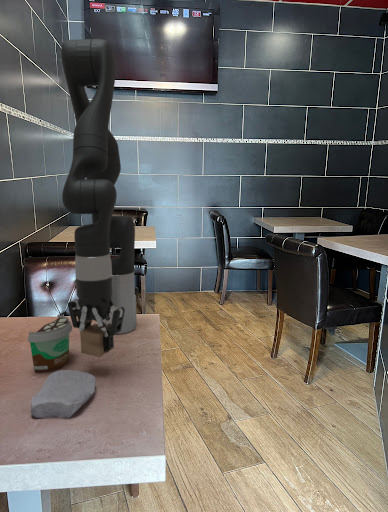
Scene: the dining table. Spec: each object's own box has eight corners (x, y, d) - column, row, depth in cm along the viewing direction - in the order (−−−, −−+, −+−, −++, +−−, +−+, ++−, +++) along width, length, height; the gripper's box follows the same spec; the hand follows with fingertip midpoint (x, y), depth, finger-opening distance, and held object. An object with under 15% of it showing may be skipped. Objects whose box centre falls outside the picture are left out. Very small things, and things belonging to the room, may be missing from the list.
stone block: (98, 393, 78) (51, 383, 77) (101, 373, 77) (54, 363, 76) (80, 431, 66) (25, 420, 66) (83, 408, 65) (28, 397, 65)
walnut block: (95, 343, 85) (94, 323, 84) (113, 347, 83) (113, 327, 82) (81, 352, 80) (80, 331, 79) (99, 357, 78) (98, 335, 77)
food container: (55, 378, 79) (52, 335, 77) (30, 375, 80) (27, 333, 79) (83, 354, 91) (81, 316, 89) (61, 351, 92) (58, 314, 91)
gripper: (132, 274, 78) (134, 347, 82) (79, 267, 84) (83, 336, 87) (111, 283, 72) (114, 362, 75) (55, 275, 77) (60, 349, 81)
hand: (97, 348), depth 81 cm, fingers closed on walnut block, 5 cm apart
